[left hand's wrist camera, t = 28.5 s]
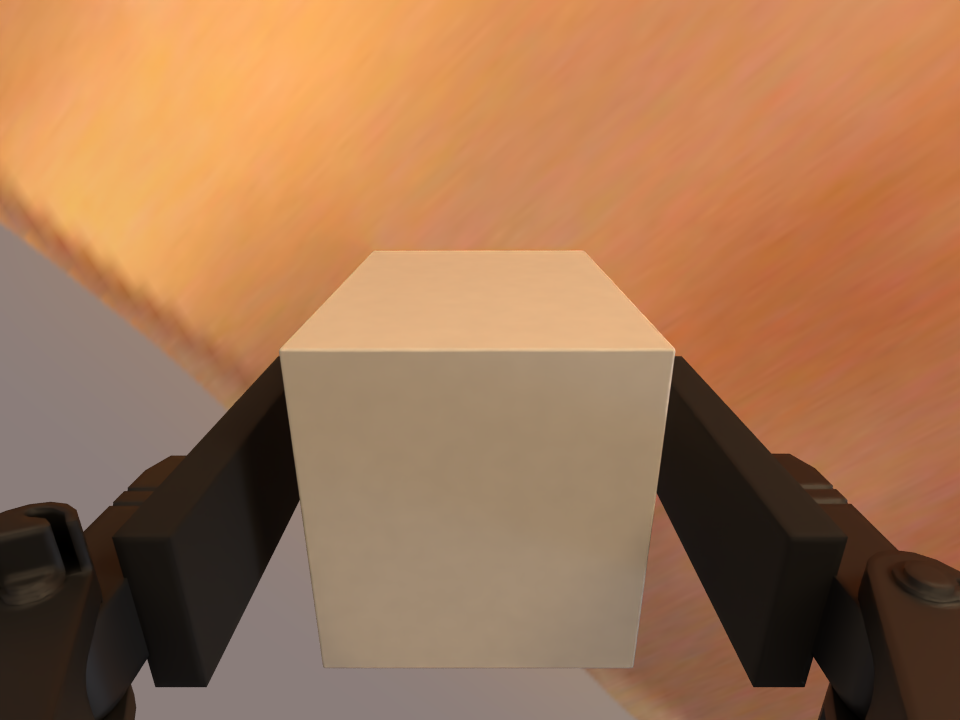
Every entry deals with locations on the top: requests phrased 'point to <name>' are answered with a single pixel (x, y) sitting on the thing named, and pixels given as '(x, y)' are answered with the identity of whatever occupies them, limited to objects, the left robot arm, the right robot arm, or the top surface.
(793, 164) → the top surface
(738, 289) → the top surface
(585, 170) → the top surface
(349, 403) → the block
